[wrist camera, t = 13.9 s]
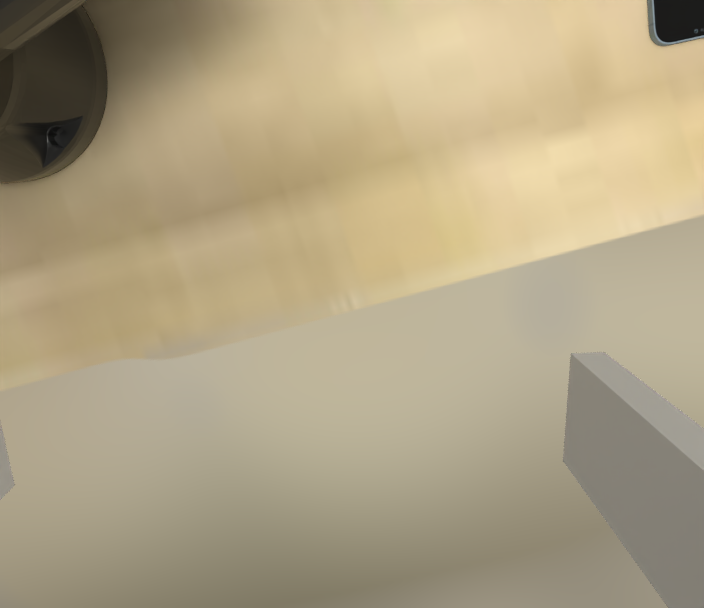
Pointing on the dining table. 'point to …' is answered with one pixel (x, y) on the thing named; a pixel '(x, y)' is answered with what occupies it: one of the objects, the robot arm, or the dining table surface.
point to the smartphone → (675, 21)
